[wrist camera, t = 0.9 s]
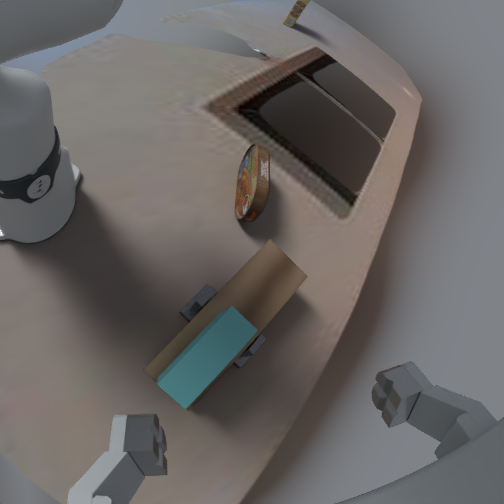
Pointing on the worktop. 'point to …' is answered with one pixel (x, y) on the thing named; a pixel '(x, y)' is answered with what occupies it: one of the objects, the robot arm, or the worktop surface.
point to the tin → (252, 183)
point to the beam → (240, 304)
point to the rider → (206, 356)
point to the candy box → (295, 12)
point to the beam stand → (199, 304)
